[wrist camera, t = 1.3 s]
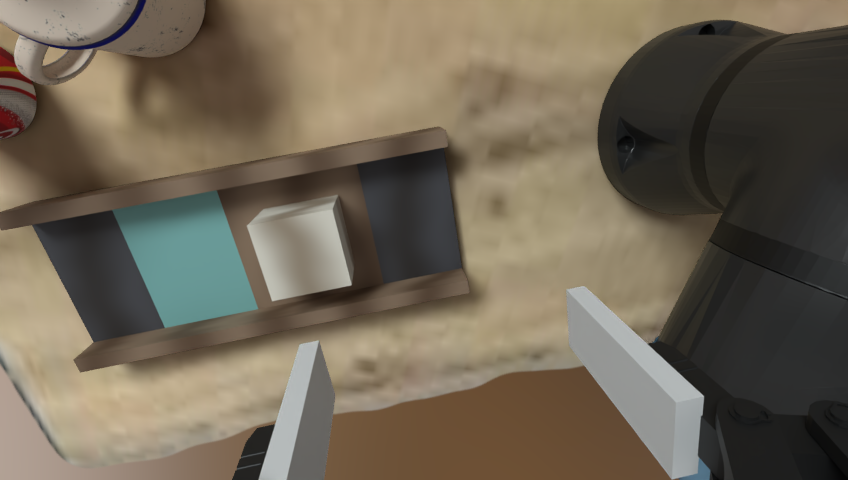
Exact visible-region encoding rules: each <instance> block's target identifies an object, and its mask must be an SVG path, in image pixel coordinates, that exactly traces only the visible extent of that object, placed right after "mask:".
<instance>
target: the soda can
mask: <svg viewBox="0 0 848 480" xmlns="http://www.w3.org/2000/svg"><path fill="white" fill-rule="evenodd" d="M36 102H37V100H36V93H35V90H34V86H33V84H32V81H31V80H30V79H29V78H27V77H25V76H24V75H23V74H21V73H20V71H19V70H18V68H17V66H16V63H15V59H14V57H13V56H12V55H11V54H10V53H8V52H7V51H6V50H4V49H3V48H1V47H0V140H2V139H6V138H10V137H13V136H16V135H18V134H20V133H21V132H23V131H24V130H25V129H26V128H27V127H28V126H29V125H30V123H31V122H32V120H33V118H34V116H35V112H36Z"/></svg>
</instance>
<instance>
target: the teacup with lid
mask: <svg viewBox="0 0 848 480" xmlns="http://www.w3.org/2000/svg"><path fill="white" fill-rule="evenodd" d="M205 5H206V0H0V22H1V23H2V24H4V25H5V26H7V27H8V28H10V29H12V30H13V31H15V32H17V33H18V34H20V36H19V38H18V40H17V43H16V47H15V51H14V59H15V63H16V66H17V68H18V70H19V71H20V73H21V74H23V75H24V76H25V77H27V78H29V79H30V80H32V81H34V82H36V83H38V84H42V85H56V84H60V83H63V82H66V81H68V80H70V79H72V78H74V77H76V76H77V75H78V74H80V73H81V72H82V71H83V70H84V69H85V68H86V67H87V66H88V65H89V64H90V62H91V61H92V59H93V58H94V56H95V54H96V52H97V50H103V51H109V52H115V53H121V54H128V55H134V56H140V57H162V56H167V55H170V54H173V53H175V52H177V51H179V50H181V49H183V48H184V47H185V46H187V45H188V44H189V43H190V42H191V41H192V40H193V38H194V37H195V36H196V34H197V33H198V31H199V29H200V27H201V24H202V21H203V18H204V14H205ZM49 46H50V47H54V48H60V49H68V51H67V52H66V53H65V54H64V55H63V56H62V57H61V58H59V59H58V60H56V61H54V62H52V63H50V64H48V65H44V66H42V64H43V59H44V56H45V54H46V51H47V49H48V47H49Z"/></svg>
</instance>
